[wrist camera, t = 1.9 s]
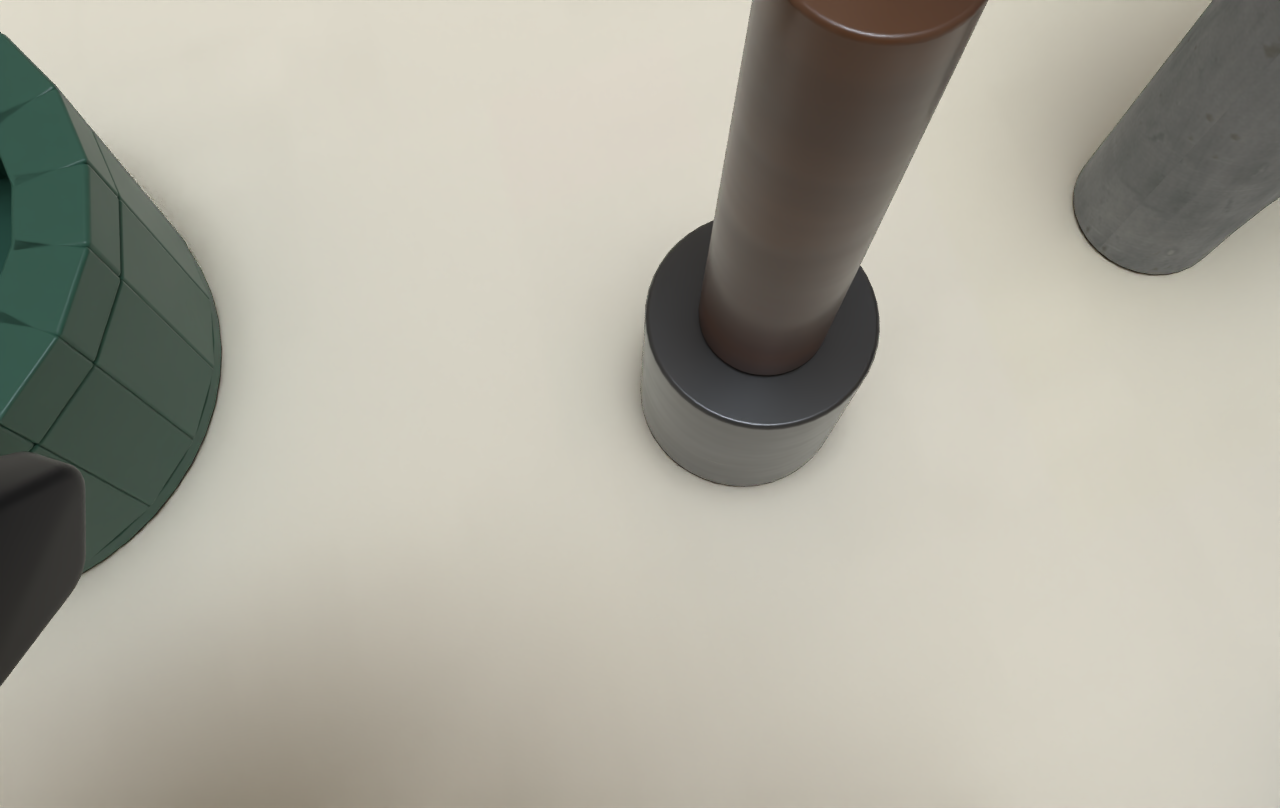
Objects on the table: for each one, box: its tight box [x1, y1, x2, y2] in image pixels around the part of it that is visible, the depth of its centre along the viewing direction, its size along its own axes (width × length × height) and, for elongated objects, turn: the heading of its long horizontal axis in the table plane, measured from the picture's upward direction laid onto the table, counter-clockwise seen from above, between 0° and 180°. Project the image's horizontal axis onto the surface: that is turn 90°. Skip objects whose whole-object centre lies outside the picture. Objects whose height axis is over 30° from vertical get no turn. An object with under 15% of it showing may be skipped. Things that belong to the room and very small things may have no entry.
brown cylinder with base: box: [641, 0, 988, 486], centre depth 16 cm, size 4×4×13 cm
